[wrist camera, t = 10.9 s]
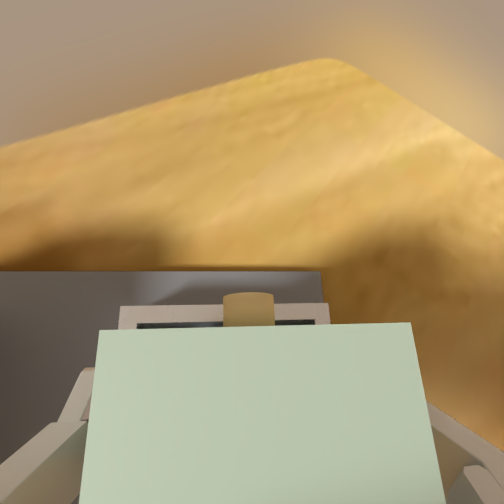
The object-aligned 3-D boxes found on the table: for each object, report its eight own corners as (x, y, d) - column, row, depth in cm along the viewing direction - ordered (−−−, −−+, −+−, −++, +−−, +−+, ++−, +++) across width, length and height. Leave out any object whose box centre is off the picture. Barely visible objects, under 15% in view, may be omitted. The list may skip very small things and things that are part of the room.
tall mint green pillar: (286, 321, 16) (401, 275, 7) (293, 417, 14) (452, 534, 5) (169, 324, 15) (106, 274, 6) (164, 426, 14) (68, 586, 4)
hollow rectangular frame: (309, 310, 18) (328, 302, 15) (322, 445, 16) (346, 465, 13) (134, 313, 17) (120, 305, 14) (122, 463, 15) (102, 488, 12)
